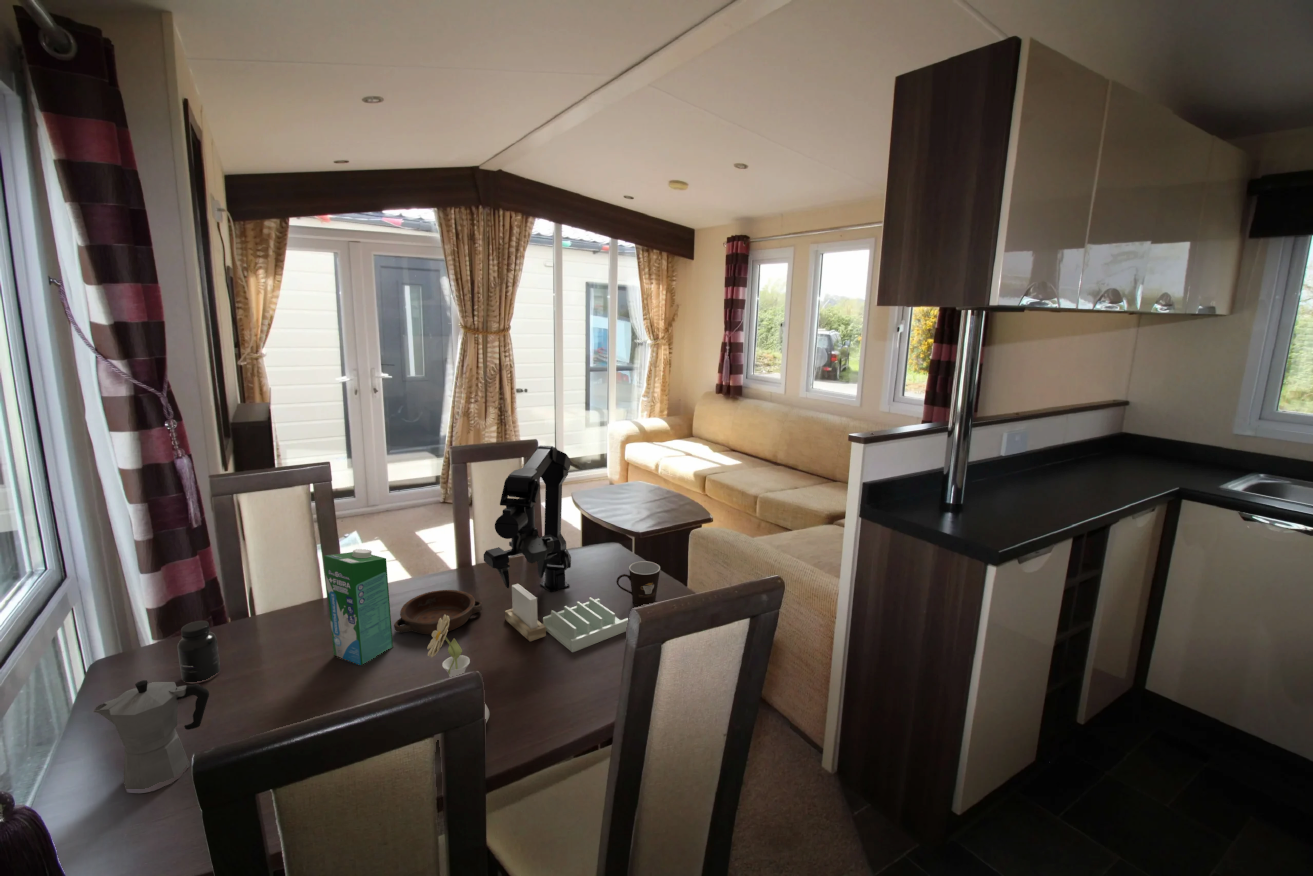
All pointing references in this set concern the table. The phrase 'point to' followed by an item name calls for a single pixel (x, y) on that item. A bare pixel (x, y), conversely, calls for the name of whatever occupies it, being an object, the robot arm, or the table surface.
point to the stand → (525, 627)
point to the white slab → (524, 606)
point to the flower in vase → (450, 652)
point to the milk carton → (358, 605)
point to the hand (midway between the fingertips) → (524, 582)
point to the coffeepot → (152, 730)
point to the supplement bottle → (198, 652)
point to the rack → (583, 624)
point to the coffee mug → (642, 582)
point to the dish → (436, 611)
